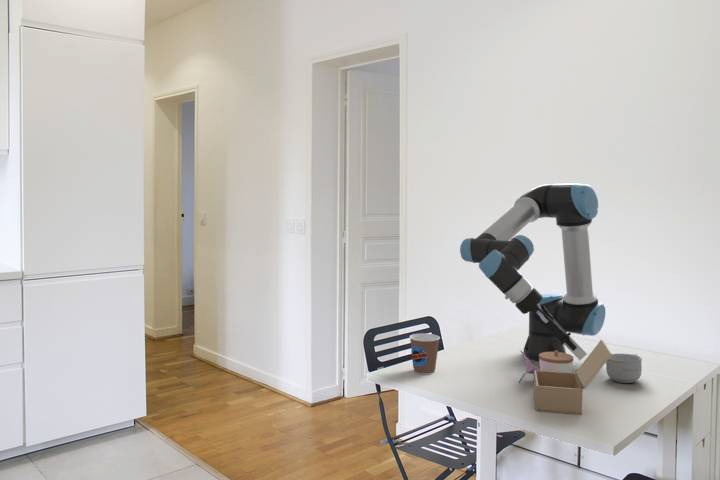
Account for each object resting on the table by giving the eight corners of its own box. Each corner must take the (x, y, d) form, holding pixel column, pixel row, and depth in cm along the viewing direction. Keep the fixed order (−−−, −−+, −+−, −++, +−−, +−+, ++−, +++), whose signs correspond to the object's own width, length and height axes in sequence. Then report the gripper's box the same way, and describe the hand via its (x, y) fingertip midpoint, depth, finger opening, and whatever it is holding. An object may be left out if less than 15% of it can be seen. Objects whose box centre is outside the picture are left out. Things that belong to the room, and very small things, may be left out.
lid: (608, 352, 165) (612, 354, 165) (600, 338, 180) (603, 341, 180) (580, 387, 167) (584, 390, 167) (574, 371, 183) (577, 373, 182)
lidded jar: (572, 376, 203) (573, 348, 203) (572, 385, 193) (573, 356, 193) (539, 373, 207) (539, 345, 206) (537, 382, 197) (538, 353, 196)
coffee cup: (402, 371, 208) (403, 336, 207) (421, 365, 215) (421, 332, 215) (427, 378, 201) (427, 341, 200) (445, 371, 208) (446, 336, 208)
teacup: (625, 387, 191) (626, 362, 191) (597, 378, 201) (598, 354, 200) (655, 381, 198) (656, 357, 197) (626, 372, 207) (627, 349, 207)
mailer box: (536, 410, 170) (536, 386, 170) (533, 393, 186) (534, 370, 185) (581, 414, 168) (582, 389, 167) (575, 396, 183) (576, 373, 183)
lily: (540, 394, 188) (554, 366, 189) (505, 375, 192) (519, 347, 193) (540, 394, 199) (553, 368, 200) (506, 376, 203) (519, 350, 204)
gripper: (513, 300, 184) (570, 359, 181) (514, 308, 171) (575, 371, 168) (532, 283, 182) (590, 342, 179) (534, 290, 169) (596, 353, 167)
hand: (583, 356), depth 174 cm, fingers closed
